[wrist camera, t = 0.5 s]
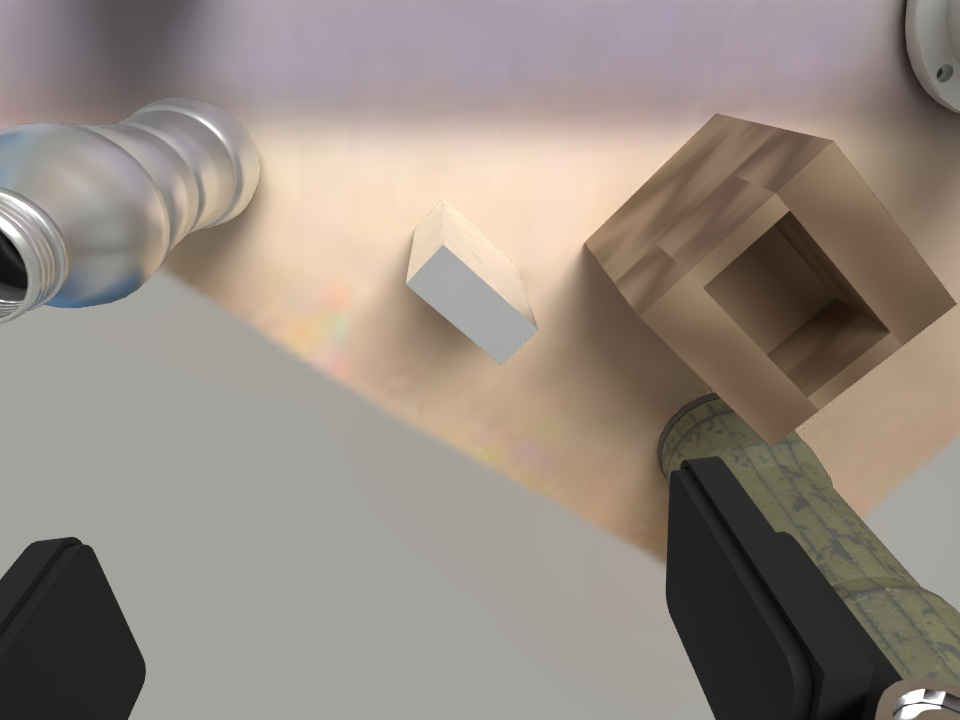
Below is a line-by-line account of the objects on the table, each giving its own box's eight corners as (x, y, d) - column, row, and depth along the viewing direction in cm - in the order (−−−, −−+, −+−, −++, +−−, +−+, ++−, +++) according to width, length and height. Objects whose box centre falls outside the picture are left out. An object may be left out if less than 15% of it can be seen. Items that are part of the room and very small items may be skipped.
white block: (443, 197, 37) (443, 244, 28) (516, 265, 39) (538, 329, 30) (414, 228, 38) (405, 284, 29) (488, 293, 40) (501, 365, 31)
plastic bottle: (269, 222, 37) (106, 383, 19) (147, 207, 37) (-142, 360, 18) (269, 103, 34) (79, 162, 16) (137, 84, 34) (-213, 124, 16)
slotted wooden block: (716, 113, 36) (833, 140, 25) (815, 233, 39) (956, 303, 28) (584, 242, 39) (638, 317, 28) (687, 345, 42) (771, 446, 31)
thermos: (614, 468, 46) (984, 1380, 14) (740, 351, 42) (1600, 1223, 11) (696, 528, 49) (1157, 1402, 17) (821, 422, 45) (1694, 1283, 14)
